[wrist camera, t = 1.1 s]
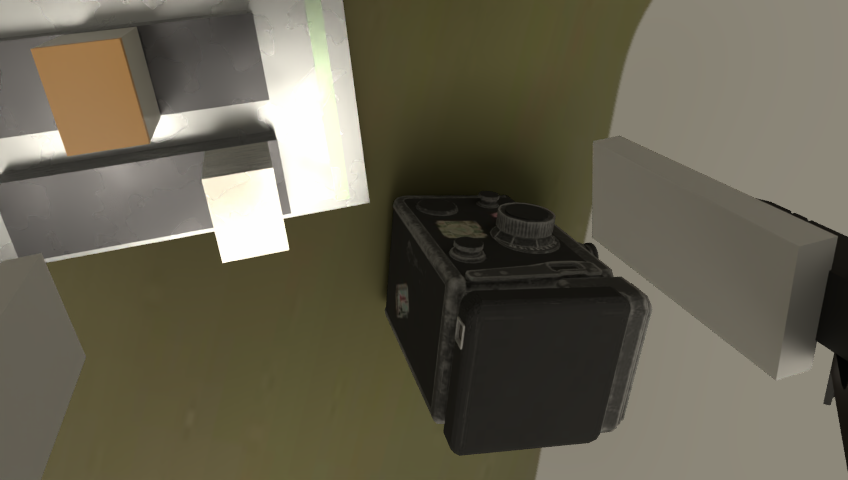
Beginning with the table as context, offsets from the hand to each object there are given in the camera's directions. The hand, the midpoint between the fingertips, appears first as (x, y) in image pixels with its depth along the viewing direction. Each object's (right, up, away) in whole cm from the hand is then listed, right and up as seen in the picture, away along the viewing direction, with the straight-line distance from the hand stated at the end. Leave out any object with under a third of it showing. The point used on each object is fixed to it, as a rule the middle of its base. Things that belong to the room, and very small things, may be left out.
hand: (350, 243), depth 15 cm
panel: (-13, +9, +17) cm, 23 cm away
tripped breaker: (-12, +7, +13) cm, 19 cm away
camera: (+4, 0, +26) cm, 27 cm away
